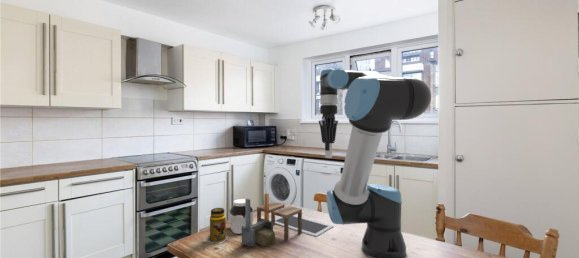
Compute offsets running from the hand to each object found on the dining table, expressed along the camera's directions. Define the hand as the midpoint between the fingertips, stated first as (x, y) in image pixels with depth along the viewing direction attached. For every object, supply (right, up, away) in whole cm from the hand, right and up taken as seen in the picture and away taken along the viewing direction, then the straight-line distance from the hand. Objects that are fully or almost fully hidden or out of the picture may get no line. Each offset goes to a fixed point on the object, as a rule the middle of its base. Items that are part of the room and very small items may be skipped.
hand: (328, 157), depth 122 cm
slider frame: (-30, -31, -17) cm, 46 cm away
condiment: (-47, -31, -14) cm, 58 cm away
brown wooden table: (-22, -31, -7) cm, 38 cm away
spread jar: (-39, -31, -4) cm, 50 cm away
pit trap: (-12, -30, +1) cm, 33 cm away
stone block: (-29, -31, -16) cm, 45 cm away
